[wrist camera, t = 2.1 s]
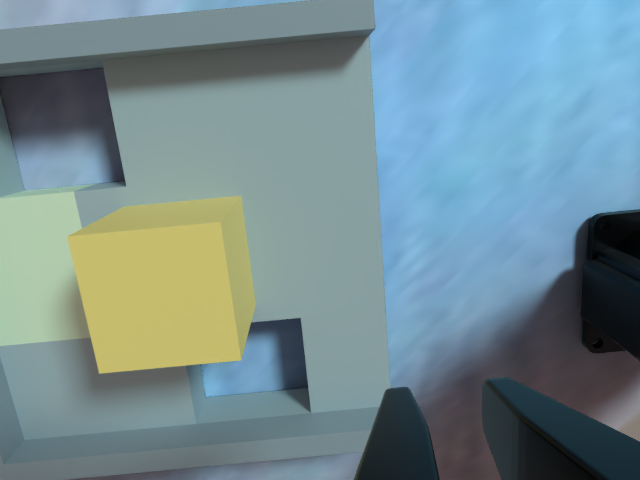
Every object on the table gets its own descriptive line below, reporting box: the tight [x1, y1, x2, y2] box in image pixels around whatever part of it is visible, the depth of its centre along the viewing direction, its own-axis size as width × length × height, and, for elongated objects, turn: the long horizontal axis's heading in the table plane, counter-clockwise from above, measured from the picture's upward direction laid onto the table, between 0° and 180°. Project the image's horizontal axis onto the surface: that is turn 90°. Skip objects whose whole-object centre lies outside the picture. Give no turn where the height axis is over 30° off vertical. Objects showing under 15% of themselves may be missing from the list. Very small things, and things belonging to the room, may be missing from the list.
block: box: [67, 196, 256, 374], centre depth 17 cm, size 4×4×4 cm
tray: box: [0, 0, 390, 480], centre depth 19 cm, size 17×17×4 cm
